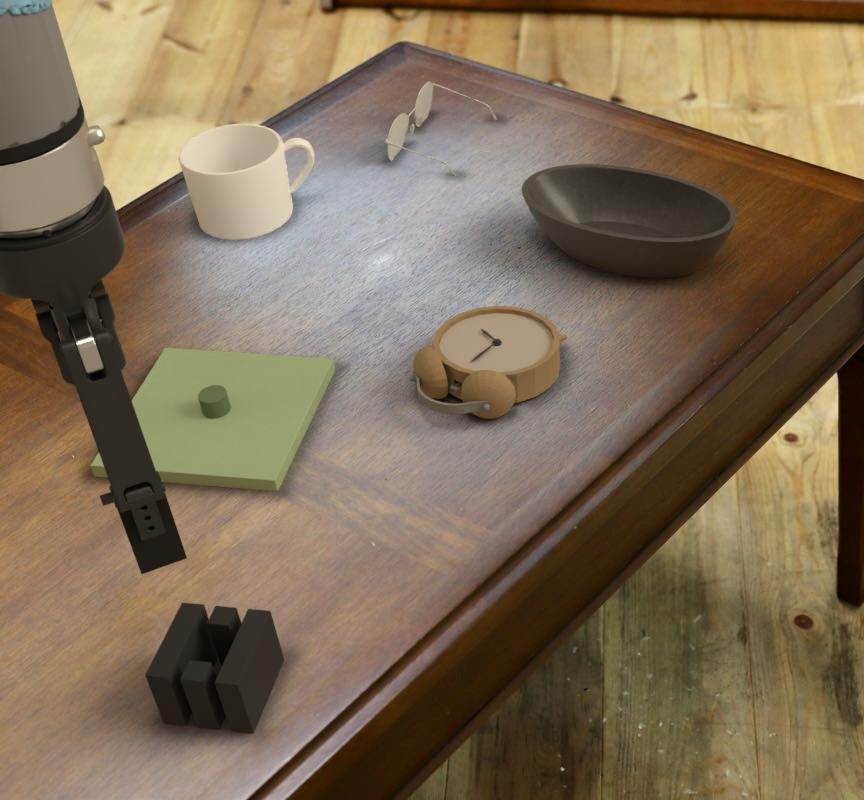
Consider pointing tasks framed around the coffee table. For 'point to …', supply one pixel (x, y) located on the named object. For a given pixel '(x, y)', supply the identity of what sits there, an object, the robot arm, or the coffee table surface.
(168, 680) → the black slotted block
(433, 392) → the alarm clock
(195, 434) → the sage mat
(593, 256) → the bowl
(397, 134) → the sunglasses
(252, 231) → the mug
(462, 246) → the coffee table surface
